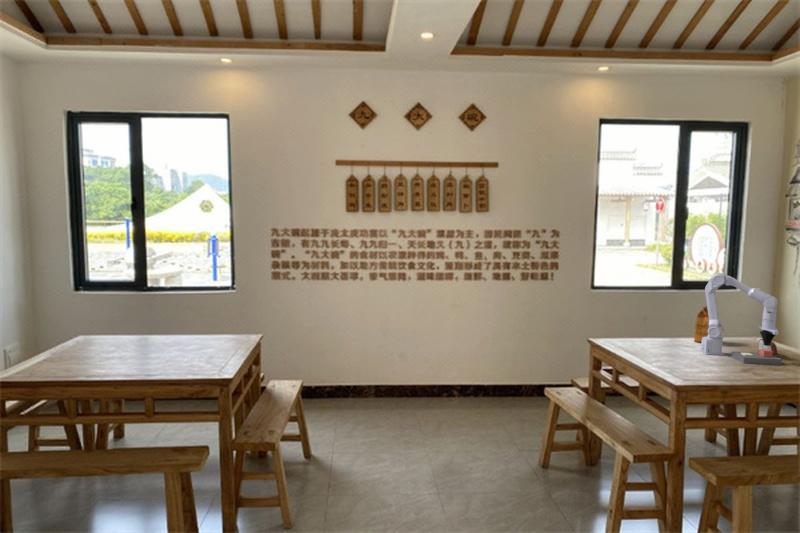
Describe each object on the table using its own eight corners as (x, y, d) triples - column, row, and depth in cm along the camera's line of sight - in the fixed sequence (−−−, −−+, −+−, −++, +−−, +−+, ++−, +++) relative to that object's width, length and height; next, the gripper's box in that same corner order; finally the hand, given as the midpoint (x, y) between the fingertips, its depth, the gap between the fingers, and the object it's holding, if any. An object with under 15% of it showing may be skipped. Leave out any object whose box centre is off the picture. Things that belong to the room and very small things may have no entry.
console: (743, 363, 261) (744, 357, 261) (731, 356, 273) (731, 351, 273) (781, 365, 259) (782, 359, 259) (767, 358, 271) (768, 353, 270)
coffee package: (719, 342, 304) (722, 306, 302) (708, 345, 298) (711, 308, 296) (702, 339, 313) (705, 304, 311) (691, 341, 307) (694, 305, 304)
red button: (763, 357, 263) (764, 350, 263) (759, 355, 267) (759, 348, 267) (772, 357, 263) (772, 351, 263) (767, 355, 267) (768, 349, 266)
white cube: (744, 361, 265) (745, 354, 264) (740, 359, 269) (741, 352, 268) (752, 361, 264) (753, 355, 264) (748, 359, 268) (749, 352, 268)
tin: (776, 359, 271) (778, 343, 270) (770, 358, 272) (771, 343, 271) (762, 351, 286) (764, 337, 285) (756, 351, 286) (758, 336, 285)
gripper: (786, 322, 255) (783, 349, 257) (769, 317, 270) (766, 342, 271) (771, 322, 256) (768, 348, 258) (754, 316, 271) (752, 341, 272)
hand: (766, 345), depth 264 cm, fingers closed
